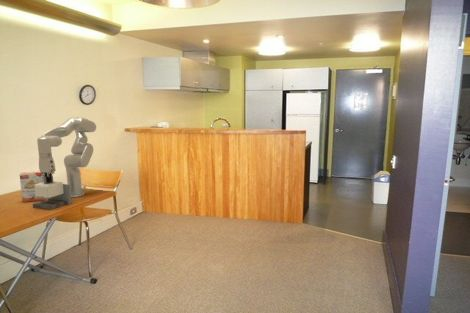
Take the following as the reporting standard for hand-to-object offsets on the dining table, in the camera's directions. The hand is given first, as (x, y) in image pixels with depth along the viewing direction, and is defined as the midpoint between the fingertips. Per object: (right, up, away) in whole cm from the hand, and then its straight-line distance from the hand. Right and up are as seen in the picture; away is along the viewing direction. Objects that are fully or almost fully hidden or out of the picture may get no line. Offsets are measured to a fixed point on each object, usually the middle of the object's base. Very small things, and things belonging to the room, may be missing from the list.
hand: (48, 182), depth 220 cm
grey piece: (0, -17, +3) cm, 17 cm away
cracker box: (-19, -15, +16) cm, 29 cm away
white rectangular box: (0, -9, +2) cm, 9 cm away
